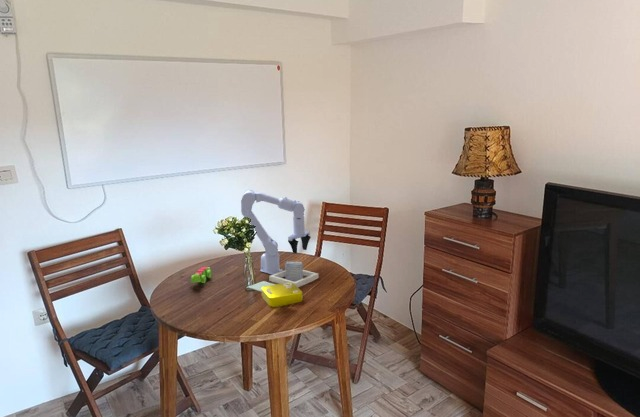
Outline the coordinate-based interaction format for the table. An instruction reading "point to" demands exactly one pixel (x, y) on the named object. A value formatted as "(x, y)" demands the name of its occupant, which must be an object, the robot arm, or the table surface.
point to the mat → (260, 285)
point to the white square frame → (278, 279)
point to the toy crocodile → (201, 275)
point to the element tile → (281, 294)
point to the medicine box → (294, 271)
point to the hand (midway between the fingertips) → (299, 251)
